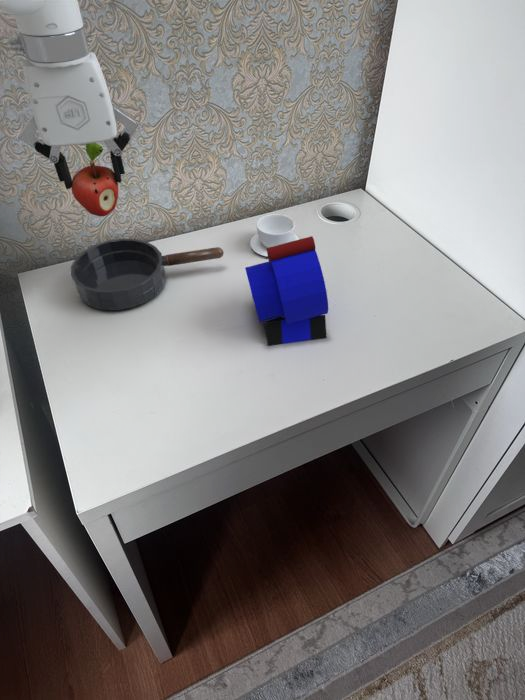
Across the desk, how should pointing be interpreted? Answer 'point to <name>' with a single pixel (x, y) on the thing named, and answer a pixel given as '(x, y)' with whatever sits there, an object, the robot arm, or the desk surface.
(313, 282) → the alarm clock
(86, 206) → the apple
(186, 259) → the pan handle
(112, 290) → the pan
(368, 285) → the desk surface
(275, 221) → the teacup
